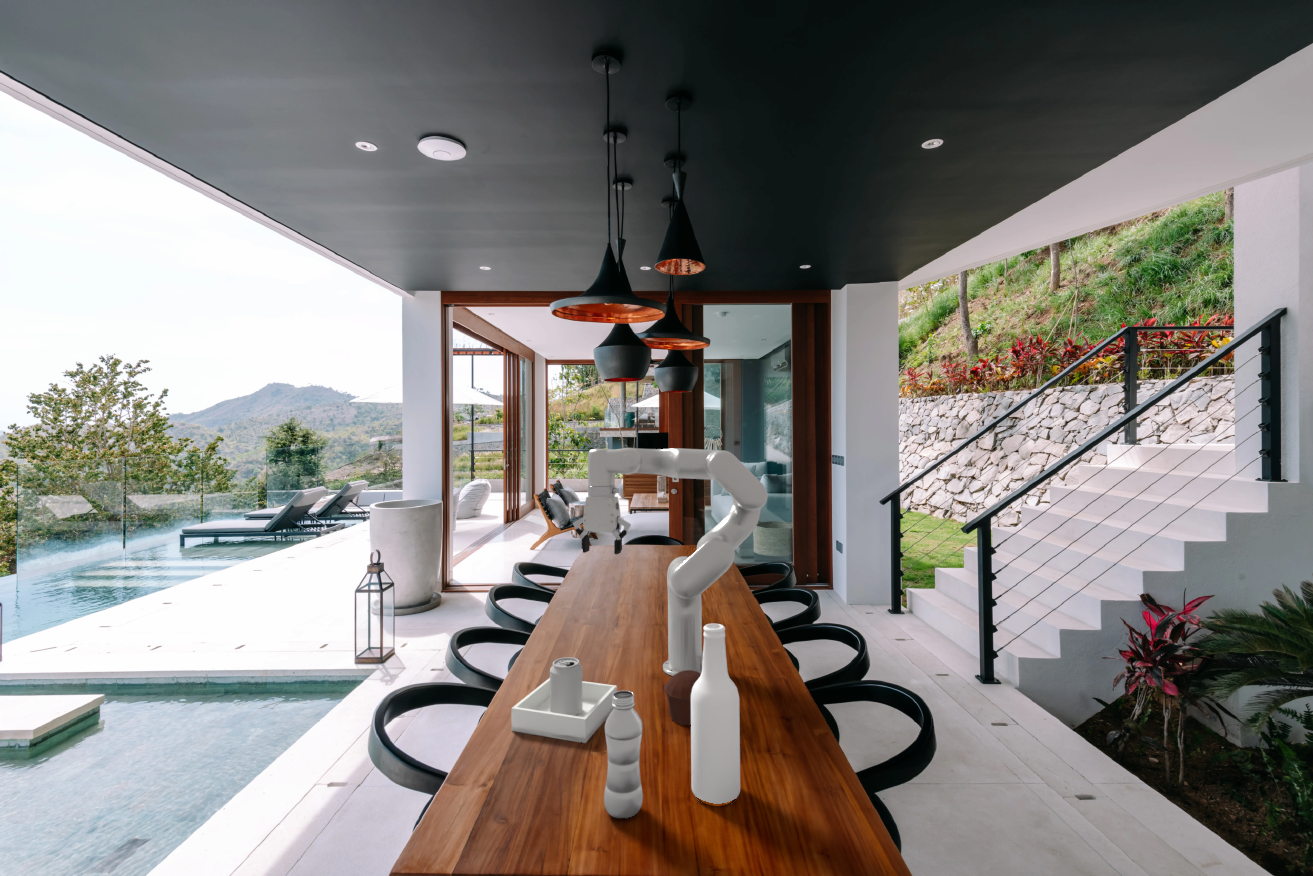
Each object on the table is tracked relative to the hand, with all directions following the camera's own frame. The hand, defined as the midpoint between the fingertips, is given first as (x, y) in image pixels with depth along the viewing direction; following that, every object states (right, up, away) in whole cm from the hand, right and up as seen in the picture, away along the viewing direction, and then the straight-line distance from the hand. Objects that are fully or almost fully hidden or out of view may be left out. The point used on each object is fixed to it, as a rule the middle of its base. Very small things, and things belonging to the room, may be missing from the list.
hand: (601, 552), depth 159 cm
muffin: (+23, -33, -28) cm, 49 cm away
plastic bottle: (+10, -32, -63) cm, 71 cm away
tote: (-5, -33, -28) cm, 44 cm away
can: (-6, -32, -28) cm, 43 cm away
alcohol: (+26, -32, -57) cm, 71 cm away
